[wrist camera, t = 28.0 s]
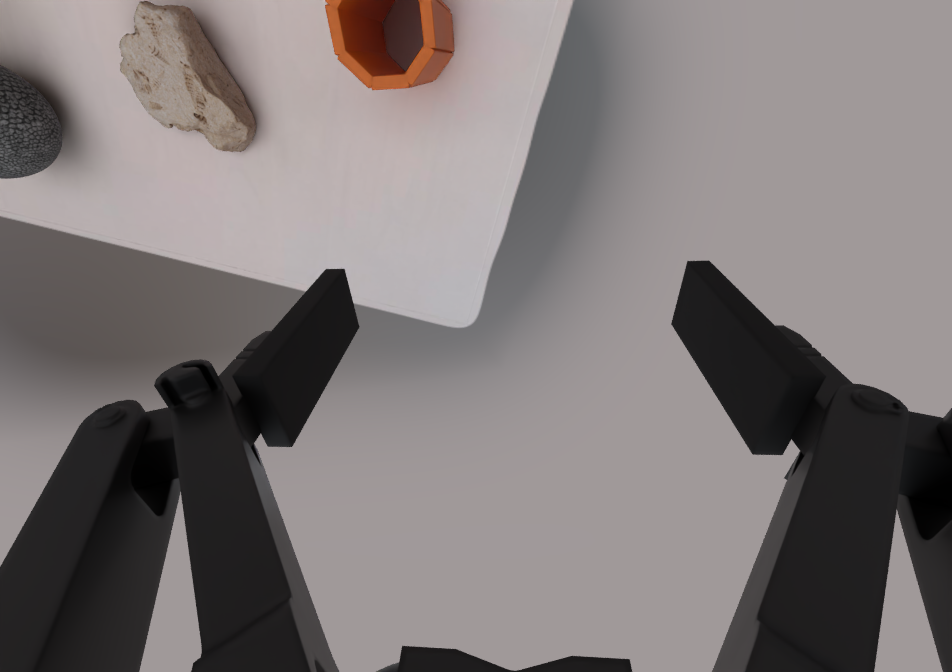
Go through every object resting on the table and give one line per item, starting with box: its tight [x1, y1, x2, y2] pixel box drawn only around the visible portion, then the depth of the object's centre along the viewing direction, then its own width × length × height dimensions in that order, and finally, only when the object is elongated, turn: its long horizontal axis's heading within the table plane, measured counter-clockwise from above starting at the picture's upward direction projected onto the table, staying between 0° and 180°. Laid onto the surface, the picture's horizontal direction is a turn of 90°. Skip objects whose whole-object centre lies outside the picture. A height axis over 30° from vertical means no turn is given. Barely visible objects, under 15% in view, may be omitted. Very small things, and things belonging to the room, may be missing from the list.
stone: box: [120, 1, 256, 152], centre depth 36 cm, size 9×11×5 cm
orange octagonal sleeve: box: [325, 0, 454, 90], centre depth 30 cm, size 7×7×11 cm
